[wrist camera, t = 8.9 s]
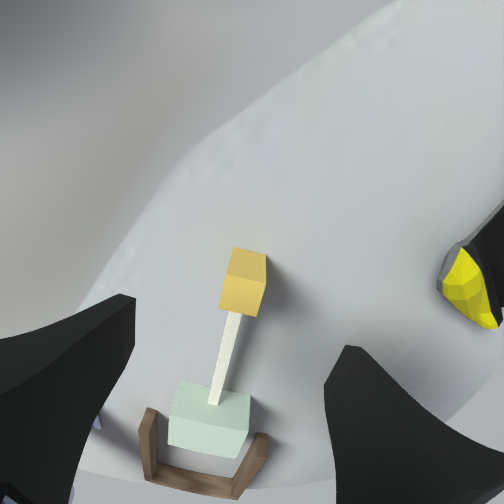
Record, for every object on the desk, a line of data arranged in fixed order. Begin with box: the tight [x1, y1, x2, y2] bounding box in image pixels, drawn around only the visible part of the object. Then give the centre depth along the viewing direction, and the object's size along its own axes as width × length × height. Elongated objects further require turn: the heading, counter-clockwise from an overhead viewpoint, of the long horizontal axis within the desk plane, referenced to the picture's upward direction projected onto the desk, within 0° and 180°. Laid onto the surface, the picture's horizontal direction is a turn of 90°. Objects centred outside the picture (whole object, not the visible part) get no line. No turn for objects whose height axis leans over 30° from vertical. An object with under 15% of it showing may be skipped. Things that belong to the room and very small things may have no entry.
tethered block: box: [168, 247, 266, 459], centre depth 19 cm, size 6×18×4 cm, turn 167°
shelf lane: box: [138, 408, 267, 500], centre depth 25 cm, size 12×14×3 cm
